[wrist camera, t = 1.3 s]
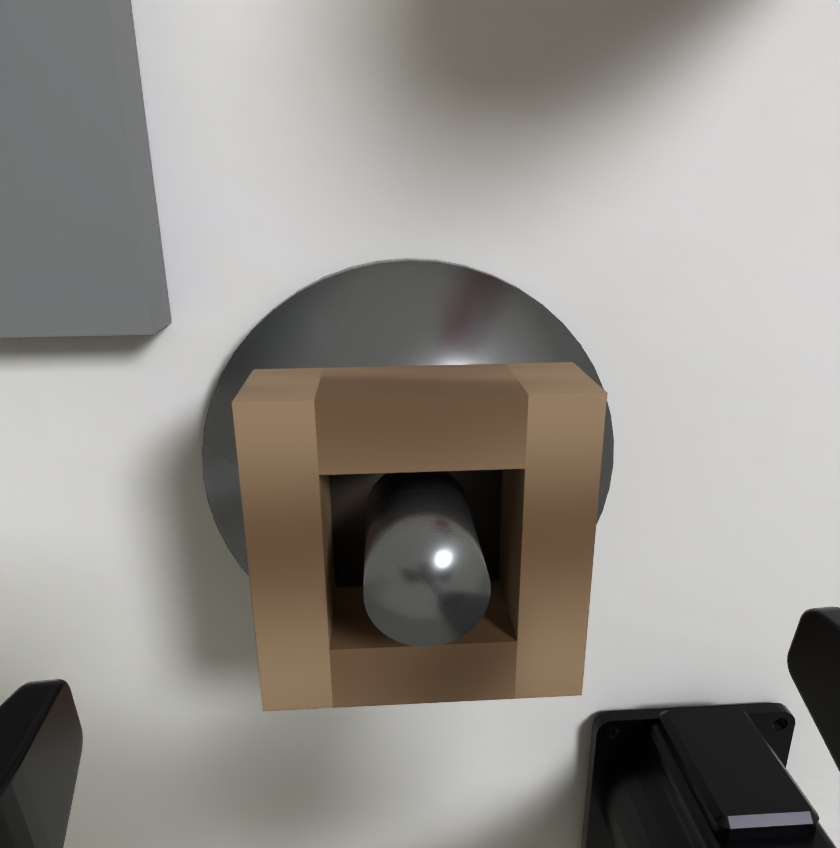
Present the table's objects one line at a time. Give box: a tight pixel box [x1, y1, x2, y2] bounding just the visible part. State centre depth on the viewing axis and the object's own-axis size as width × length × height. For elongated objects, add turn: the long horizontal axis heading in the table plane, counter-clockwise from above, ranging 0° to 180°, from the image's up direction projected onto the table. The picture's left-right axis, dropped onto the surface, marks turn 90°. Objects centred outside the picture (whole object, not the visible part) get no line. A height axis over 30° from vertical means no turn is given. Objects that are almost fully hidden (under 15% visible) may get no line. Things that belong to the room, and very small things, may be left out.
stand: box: [202, 258, 614, 647], centre depth 16 cm, size 11×11×6 cm
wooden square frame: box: [232, 362, 607, 711], centre depth 15 cm, size 7×7×2 cm
